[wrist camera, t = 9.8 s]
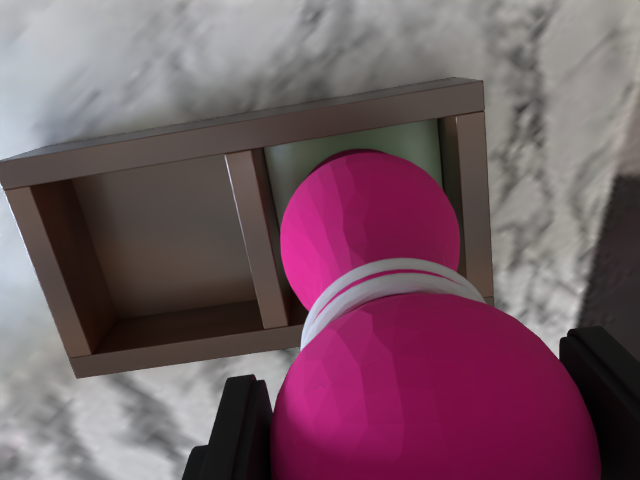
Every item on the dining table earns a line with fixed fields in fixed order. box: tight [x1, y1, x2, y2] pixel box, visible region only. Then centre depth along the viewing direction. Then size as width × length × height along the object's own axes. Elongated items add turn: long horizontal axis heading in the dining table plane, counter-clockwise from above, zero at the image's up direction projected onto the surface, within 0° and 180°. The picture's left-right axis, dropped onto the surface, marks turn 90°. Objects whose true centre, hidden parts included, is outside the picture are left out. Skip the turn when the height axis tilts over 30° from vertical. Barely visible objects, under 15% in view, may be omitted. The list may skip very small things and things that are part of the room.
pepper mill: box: [270, 149, 602, 480], centre depth 15 cm, size 7×7×20 cm
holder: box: [0, 77, 494, 379], centre depth 24 cm, size 11×21×4 cm, turn 99°
